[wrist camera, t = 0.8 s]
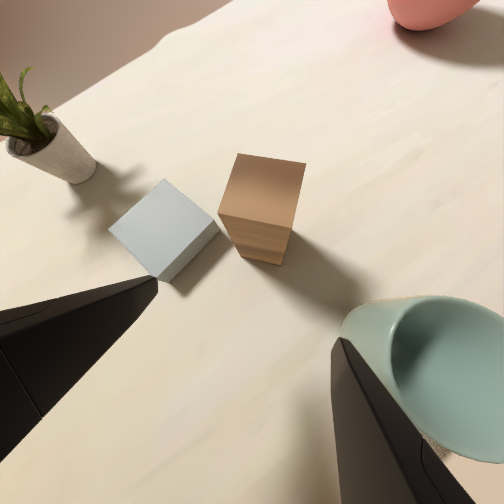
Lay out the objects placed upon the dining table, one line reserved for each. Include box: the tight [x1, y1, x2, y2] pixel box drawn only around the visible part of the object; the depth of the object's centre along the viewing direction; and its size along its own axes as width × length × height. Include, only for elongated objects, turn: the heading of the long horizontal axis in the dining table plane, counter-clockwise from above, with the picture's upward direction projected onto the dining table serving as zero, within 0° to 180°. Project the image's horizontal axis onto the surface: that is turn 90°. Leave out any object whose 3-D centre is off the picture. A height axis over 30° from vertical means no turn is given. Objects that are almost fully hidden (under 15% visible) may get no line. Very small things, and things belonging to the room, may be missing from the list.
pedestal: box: [108, 178, 220, 283], centre depth 23 cm, size 9×9×3 cm
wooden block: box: [218, 153, 306, 266], centre depth 18 cm, size 5×5×11 cm
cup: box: [340, 295, 504, 464], centre depth 15 cm, size 8×8×10 cm
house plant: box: [0, 67, 96, 184], centre depth 22 cm, size 14×14×16 cm
